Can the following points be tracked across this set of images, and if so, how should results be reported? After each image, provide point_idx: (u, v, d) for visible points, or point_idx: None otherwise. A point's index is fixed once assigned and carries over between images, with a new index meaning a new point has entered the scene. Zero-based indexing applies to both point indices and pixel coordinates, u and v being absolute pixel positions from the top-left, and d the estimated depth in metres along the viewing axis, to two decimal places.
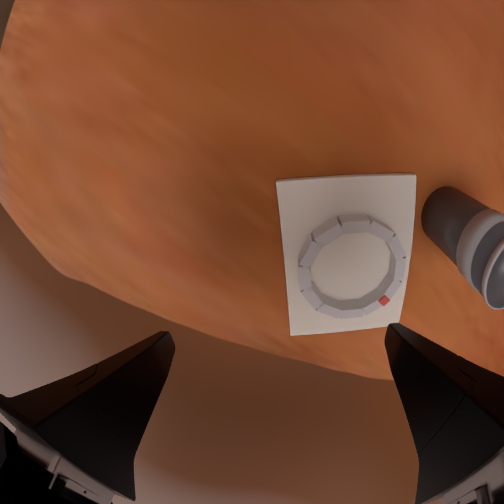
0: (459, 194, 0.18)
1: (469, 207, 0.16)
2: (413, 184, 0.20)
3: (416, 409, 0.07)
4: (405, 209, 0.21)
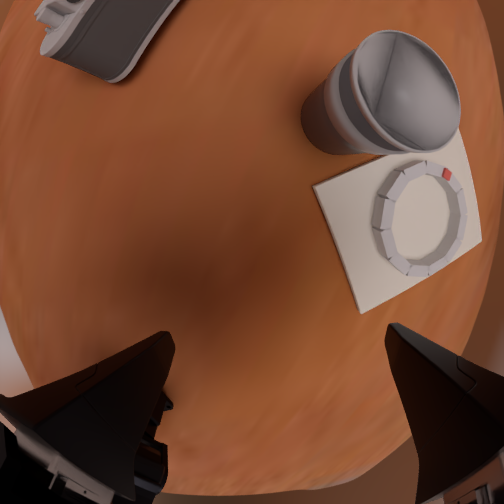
0: (314, 131, 0.17)
1: (335, 137, 0.14)
2: (325, 185, 0.20)
3: (416, 409, 0.07)
4: (353, 183, 0.20)
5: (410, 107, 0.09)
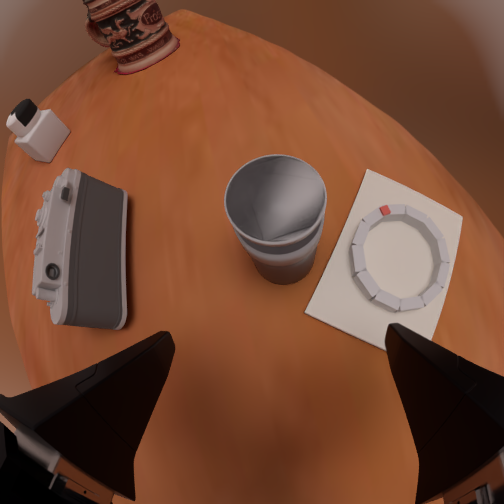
0: (270, 276, 0.23)
1: (278, 269, 0.20)
2: (311, 305, 0.23)
3: (416, 409, 0.07)
4: (329, 285, 0.23)
5: (281, 210, 0.15)
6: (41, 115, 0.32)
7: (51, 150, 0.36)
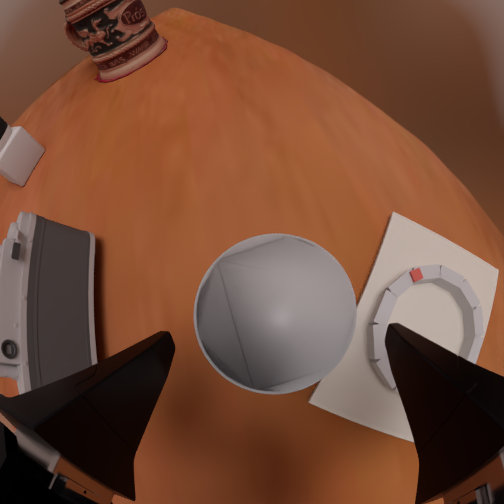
0: None
1: None
2: (317, 394, 0.17)
3: (416, 409, 0.07)
4: (341, 370, 0.17)
5: (283, 340, 0.09)
6: (12, 133, 0.26)
7: (24, 172, 0.31)
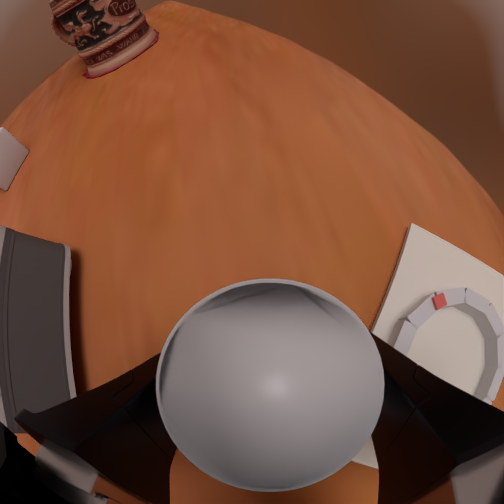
0: None
1: None
2: None
3: None
4: None
5: (279, 432, 0.06)
6: None
7: (7, 176, 0.27)
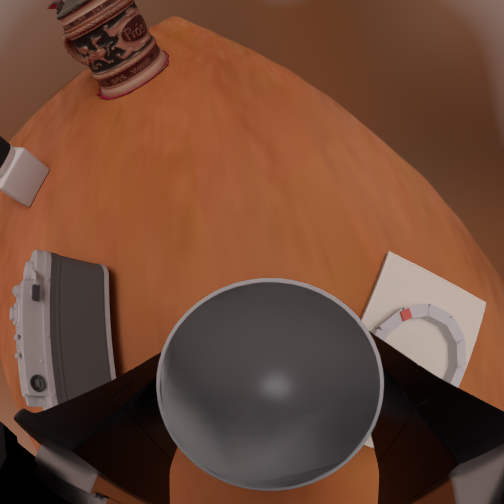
0: None
1: None
2: None
3: None
4: None
5: (279, 431, 0.06)
6: (15, 155, 0.28)
7: (29, 193, 0.32)
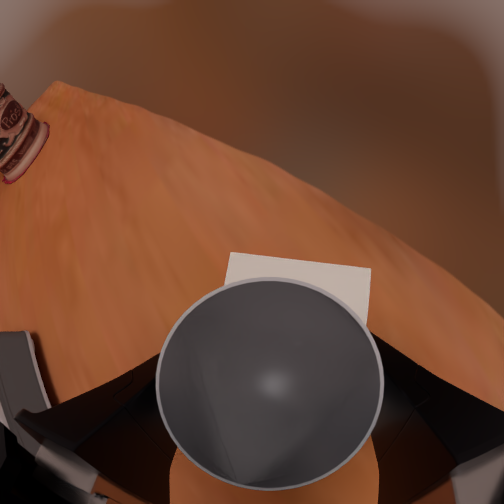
0: None
1: None
2: None
3: None
4: None
5: (278, 430, 0.06)
6: None
7: None
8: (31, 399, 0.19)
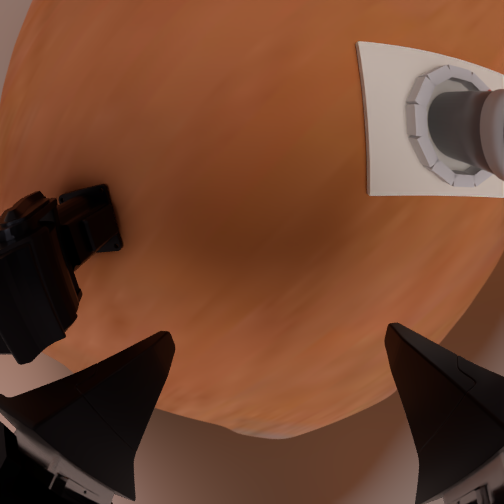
0: (445, 114, 0.13)
1: (468, 129, 0.11)
2: (368, 45, 0.14)
3: (416, 409, 0.07)
4: (397, 56, 0.14)
5: None
6: None
7: None
8: None
